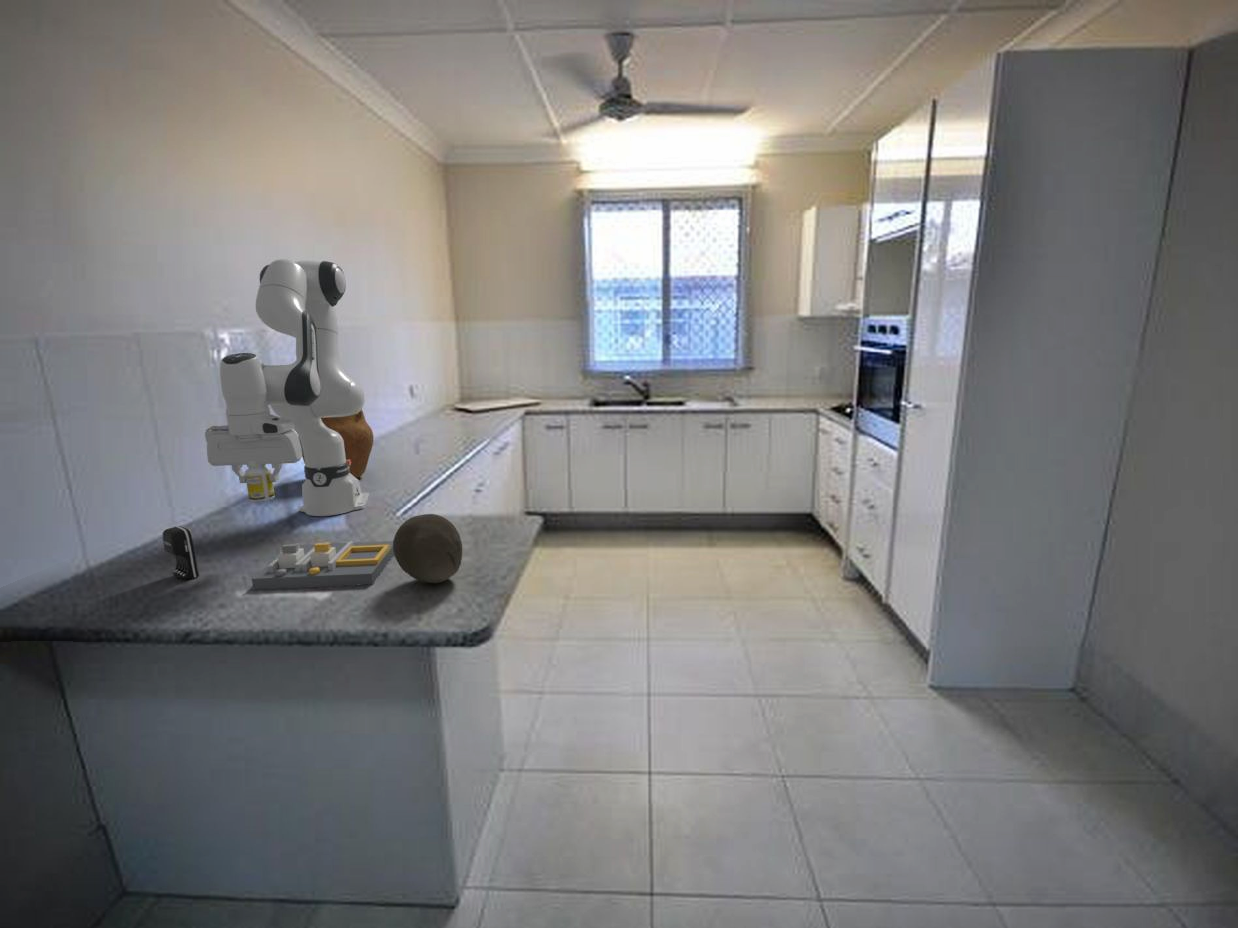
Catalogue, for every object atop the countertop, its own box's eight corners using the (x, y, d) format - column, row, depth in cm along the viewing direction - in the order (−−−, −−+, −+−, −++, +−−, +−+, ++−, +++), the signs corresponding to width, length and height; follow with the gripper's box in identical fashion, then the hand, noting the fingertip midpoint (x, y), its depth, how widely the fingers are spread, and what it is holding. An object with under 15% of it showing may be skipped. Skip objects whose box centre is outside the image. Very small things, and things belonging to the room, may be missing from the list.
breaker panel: (294, 554, 153) (291, 538, 152) (398, 550, 155) (396, 534, 154) (253, 589, 134) (250, 571, 133) (372, 584, 135) (370, 566, 134)
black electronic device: (168, 576, 142) (158, 528, 139) (187, 570, 145) (177, 523, 142) (181, 583, 138) (171, 534, 135) (200, 577, 141) (191, 529, 138)
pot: (389, 471, 234) (380, 391, 227) (357, 488, 211) (346, 400, 204) (328, 470, 237) (318, 391, 230) (290, 488, 213) (277, 400, 206)
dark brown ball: (460, 564, 145) (455, 503, 141) (469, 588, 132) (463, 521, 128) (396, 574, 140) (389, 510, 136) (398, 600, 127) (391, 531, 124)
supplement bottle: (269, 494, 153) (263, 455, 151) (279, 498, 150) (273, 459, 147) (245, 500, 149) (238, 460, 147) (254, 504, 146) (248, 463, 143)
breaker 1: (287, 561, 142) (284, 542, 141) (305, 560, 142) (302, 541, 141) (279, 568, 138) (276, 548, 137) (297, 567, 138) (294, 548, 137)
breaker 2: (318, 560, 142) (316, 541, 141) (336, 559, 143) (334, 540, 141) (311, 566, 138) (308, 547, 137) (330, 566, 139) (327, 546, 138)
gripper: (195, 428, 141) (206, 487, 145) (288, 425, 143) (297, 484, 146) (211, 423, 147) (221, 480, 151) (300, 421, 149) (308, 477, 152)
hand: (259, 482), depth 148 cm, fingers closed on supplement bottle, 5 cm apart
